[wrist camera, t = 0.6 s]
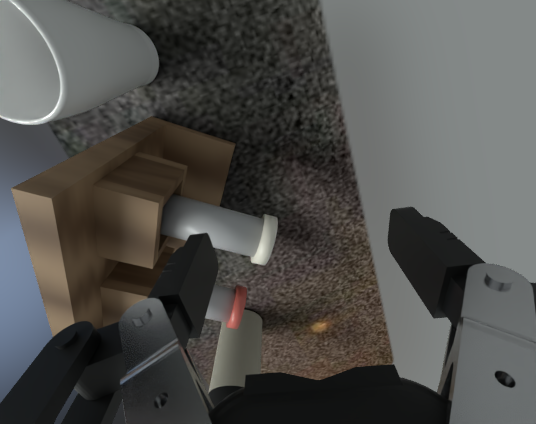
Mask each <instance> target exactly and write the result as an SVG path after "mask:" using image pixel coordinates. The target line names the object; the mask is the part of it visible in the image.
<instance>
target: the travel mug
mask: <svg viewBox="0 0 536 424" xmlns="http://www.w3.org/2000/svg"><path fill="white" fill-rule="evenodd" d="M261 346H262V319H261V317H260V316H259V315H258V314H257V313H255V312H253V311H250V310H244V312H243V316H242V319H241V322H240V325H239V327H238V329H232V328H227V327H226V322H222V326H221V331H220V336H219V342H218V347H217V352H216V357H215V362H214V368H213V373H212V378H211V383H210V389H209V394H208V395H209V397H210V399H211V401H212V403H213V405H214V407H215V406H216V405H217V404H219V403H220V402H221V401H222V400H223V399H224V398H226V397H227V396H229V395H230V394H232V393H233V392H235V391H237V390H239V389H241V388H244V387H245V376H246V375H250V374H260V370H261Z"/></svg>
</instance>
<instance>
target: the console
mask: <svg viewBox="0 0 536 424" xmlns="http://www.w3.org/2000/svg"><path fill="white" fill-rule="evenodd" d="M235 144H236V143H233V142H230V141H226V140H223V139H220V138H217V137H214V136H211V135H208V134H205V133H202V132H198V131H195V130H192V129H189V128H186V127H183V126H180V125H177V124H173V123H170V122H167V121H164V120H161V119H158V118H155V117H152V116H151V117H150V118H148V119H146V120H144V121H142V122H140V123H138V124H136V125H134V126H132V127H130V128H128V129H126V130H124V131H122V132H120V133H118V134H116V135H114V136H112V137H110V138H108V139H106V140H105V141H103V142H101V143H99V144H97V145H95V146H93V147H91V148H89V149H87V150H85V151H83V152H81V153H79V154H77V155H75V156H73V157H71V158H69V159H67V160H66V161H63V162H61V163H60V164H58V165H56V166H54V167H52V168H50V169H48V170H46V171H44V172H42V173H40V174H38V175H36V176H34V177H32V178H30V179H28V180H26V181H25V182H22V183H20V184H18V185H17V186H15V187H13V188H11V190H12V193H13V197H14V200H15V204H16V207H17V211H18V215H19V218H20V222H21V225H22V229H23V232H24V236H25V239H26V243H27V246H28V250H29V253H30V257H31V261H32V264H33V268H34V271H35V274H36V278H37V282H38V285H39V288H40V292H41V296H42V299H43V303H44V307H45V310H46V314H47V317H48V321H49V324H50V328H51V331H52V335H53V337H54V336H55V335H56V334H57V333H59V332H60V331H61V330H63V329H64V328H66V327H68V326H70V325H72V324H74V323H77V322H81V321H88V322H90V323H92V325H93V326H94V327H95V328H96V330H97V329H99V328H102V327H105V326H108V325H110V324H113V323H116V322H119V321H120V319H121V317H122V315H123V314H124V313H125V312H126V311H127V310H128V309H129V308H130V307H131V306H132V305H134V304H136V303H137V302H139V301H141V300H144V299H147V297H148V296H149V294H150V292H151V290H152V289H153V287H154V285H155V283H156V281H157V280H158V278H159V276H160V274H161V273H162V272H163V269H164V267H165V265H167V262H168V260H169V258H170V256H171V255H172V254H173V253H174V252H175V251H176V250H177V249H178V248H179V247H184V245H185V243H186V240H182V239H178V238H174V237H170V236H166V235H162V234H160V230H161V220H162V211H163V206H164V205H165V204H166V202H167V201H168V199H169V198H170V197H171V195H172V194H175V195H179V196H183V197H186V198H190V199H193V200H197V201H201V202H204V203H208V204H211V205H215V206H219V207H220V203H221V199H222V195H223V191H224V187H225V183H226V179H227V175H228V171H229V167H230V164H231V160H232V156H233V152H234V148H235Z"/></svg>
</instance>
